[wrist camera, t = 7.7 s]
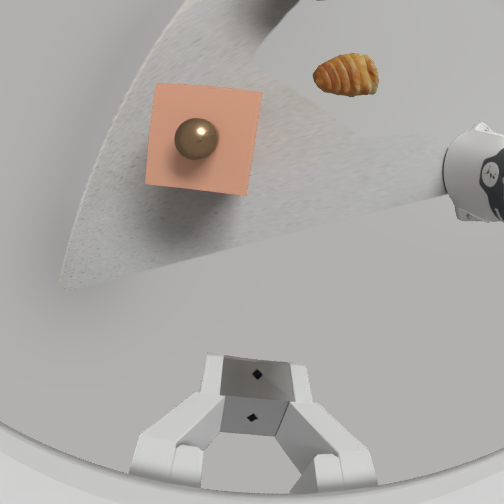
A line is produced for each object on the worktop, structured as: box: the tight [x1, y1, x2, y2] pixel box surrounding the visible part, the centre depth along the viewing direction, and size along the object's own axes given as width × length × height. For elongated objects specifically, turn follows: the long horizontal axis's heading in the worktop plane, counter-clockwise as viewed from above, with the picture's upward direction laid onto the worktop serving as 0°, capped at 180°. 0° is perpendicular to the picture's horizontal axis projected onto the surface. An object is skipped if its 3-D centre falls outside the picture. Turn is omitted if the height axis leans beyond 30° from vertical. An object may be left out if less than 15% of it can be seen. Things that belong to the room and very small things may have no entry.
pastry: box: [313, 53, 379, 97], centre depth 36 cm, size 9×7×4 cm
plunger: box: [174, 118, 219, 160], centre depth 30 cm, size 8×8×13 cm
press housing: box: [145, 83, 263, 196], centre depth 34 cm, size 10×10×16 cm
